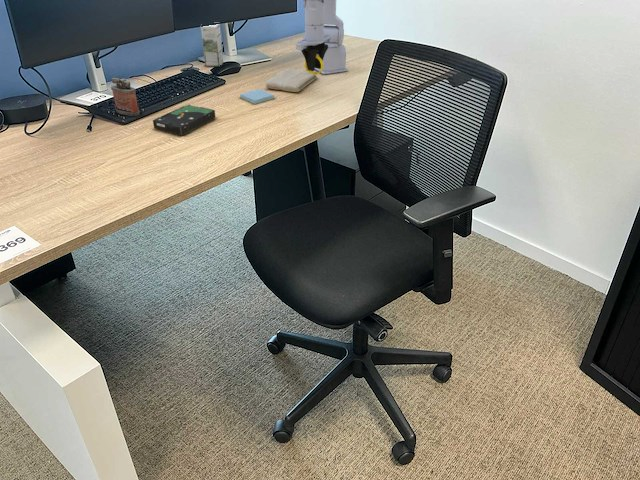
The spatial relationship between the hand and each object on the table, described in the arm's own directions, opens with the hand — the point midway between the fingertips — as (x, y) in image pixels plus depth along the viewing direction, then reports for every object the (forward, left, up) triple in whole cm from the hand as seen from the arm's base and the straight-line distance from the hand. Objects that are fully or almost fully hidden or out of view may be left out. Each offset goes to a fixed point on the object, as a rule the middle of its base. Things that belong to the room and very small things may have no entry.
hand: (314, 69), depth 168 cm
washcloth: (+2, -13, -8) cm, 15 cm away
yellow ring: (0, 0, -2) cm, 2 cm away
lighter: (+57, -10, -8) cm, 58 cm away
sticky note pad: (+18, -5, -8) cm, 20 cm away
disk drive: (+44, +6, -8) cm, 45 cm away
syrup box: (+19, -46, -8) cm, 50 cm away
